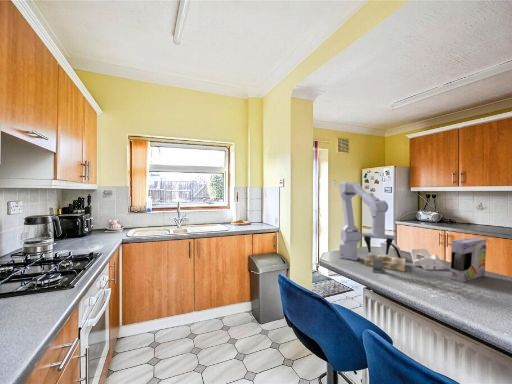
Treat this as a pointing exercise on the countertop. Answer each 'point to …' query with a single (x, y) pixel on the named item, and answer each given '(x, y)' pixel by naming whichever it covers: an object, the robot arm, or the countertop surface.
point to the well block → (387, 262)
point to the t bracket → (377, 265)
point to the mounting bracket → (426, 260)
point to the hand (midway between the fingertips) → (378, 253)
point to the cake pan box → (468, 258)
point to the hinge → (392, 250)
